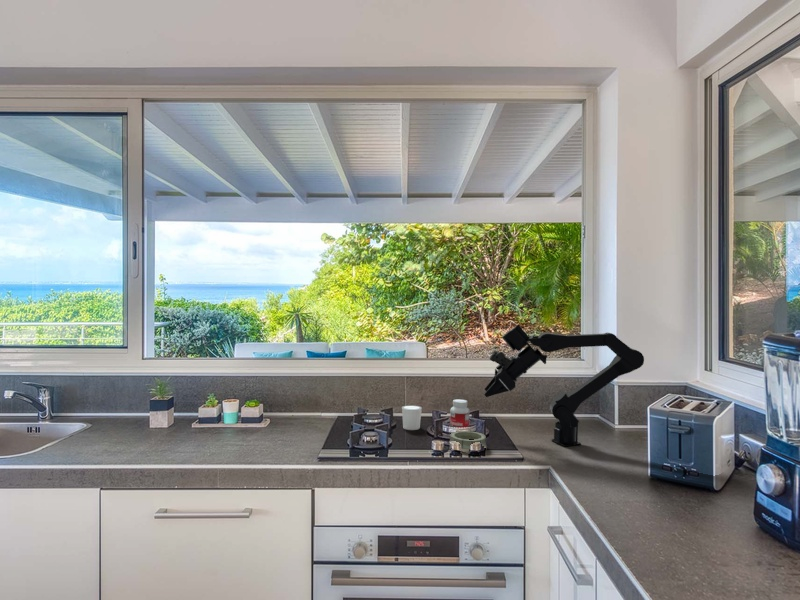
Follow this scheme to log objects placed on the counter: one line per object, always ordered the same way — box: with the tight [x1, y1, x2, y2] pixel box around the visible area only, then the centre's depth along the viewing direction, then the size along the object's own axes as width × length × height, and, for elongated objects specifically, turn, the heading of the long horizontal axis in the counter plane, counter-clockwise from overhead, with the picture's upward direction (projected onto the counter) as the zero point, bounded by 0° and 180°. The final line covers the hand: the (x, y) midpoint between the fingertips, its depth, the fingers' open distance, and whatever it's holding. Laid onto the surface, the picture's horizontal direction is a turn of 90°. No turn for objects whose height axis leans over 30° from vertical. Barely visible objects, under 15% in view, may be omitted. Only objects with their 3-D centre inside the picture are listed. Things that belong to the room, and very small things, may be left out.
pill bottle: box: [449, 398, 470, 427], centre depth 162 cm, size 6×6×11 cm
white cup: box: [401, 404, 422, 431], centre depth 169 cm, size 7×7×7 cm
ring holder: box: [449, 430, 487, 452], centre depth 148 cm, size 11×11×4 cm
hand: (485, 392), depth 159 cm, fingers open, 9 cm apart
